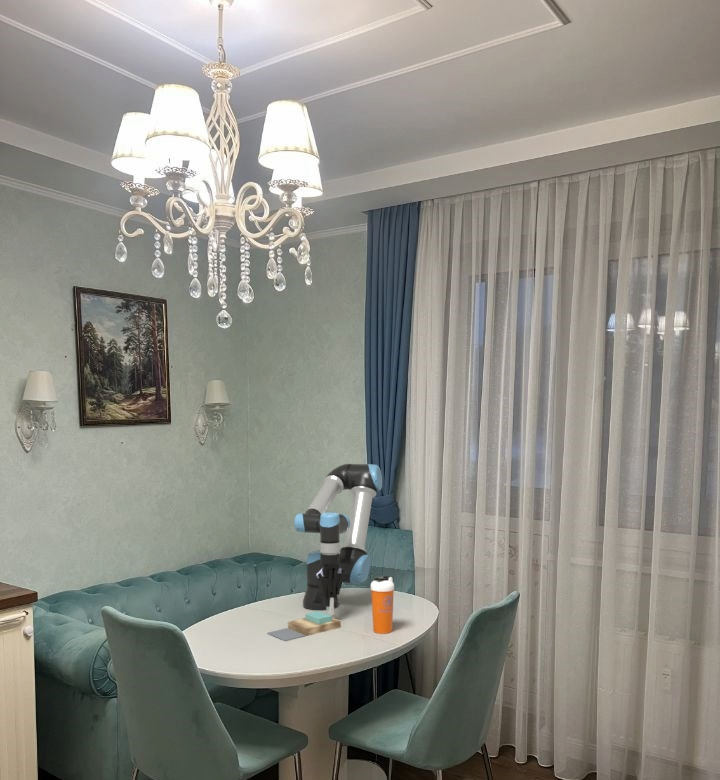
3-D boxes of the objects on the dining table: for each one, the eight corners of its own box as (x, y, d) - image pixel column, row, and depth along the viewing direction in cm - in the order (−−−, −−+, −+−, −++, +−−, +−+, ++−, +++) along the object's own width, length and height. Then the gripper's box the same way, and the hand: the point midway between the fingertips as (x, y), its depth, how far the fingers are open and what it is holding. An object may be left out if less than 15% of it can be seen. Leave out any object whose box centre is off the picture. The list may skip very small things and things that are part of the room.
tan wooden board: (321, 620, 280) (321, 614, 280) (340, 627, 271) (340, 620, 271) (288, 628, 270) (288, 621, 270) (306, 635, 261) (306, 629, 261)
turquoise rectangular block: (317, 616, 277) (317, 611, 277) (332, 621, 270) (332, 616, 271) (305, 619, 273) (305, 614, 274) (319, 624, 267) (319, 619, 267)
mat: (286, 628, 270) (286, 628, 270) (305, 636, 261) (305, 635, 261) (266, 633, 264) (266, 632, 264) (285, 641, 255) (284, 640, 255)
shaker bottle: (365, 631, 266) (365, 577, 267) (381, 625, 273) (381, 573, 273) (383, 636, 260) (383, 580, 261) (399, 630, 266) (399, 576, 267)
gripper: (336, 549, 284) (337, 609, 283) (310, 553, 275) (310, 615, 274) (348, 552, 278) (349, 613, 277) (322, 556, 269) (322, 619, 268)
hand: (330, 614), depth 275 cm, fingers closed
